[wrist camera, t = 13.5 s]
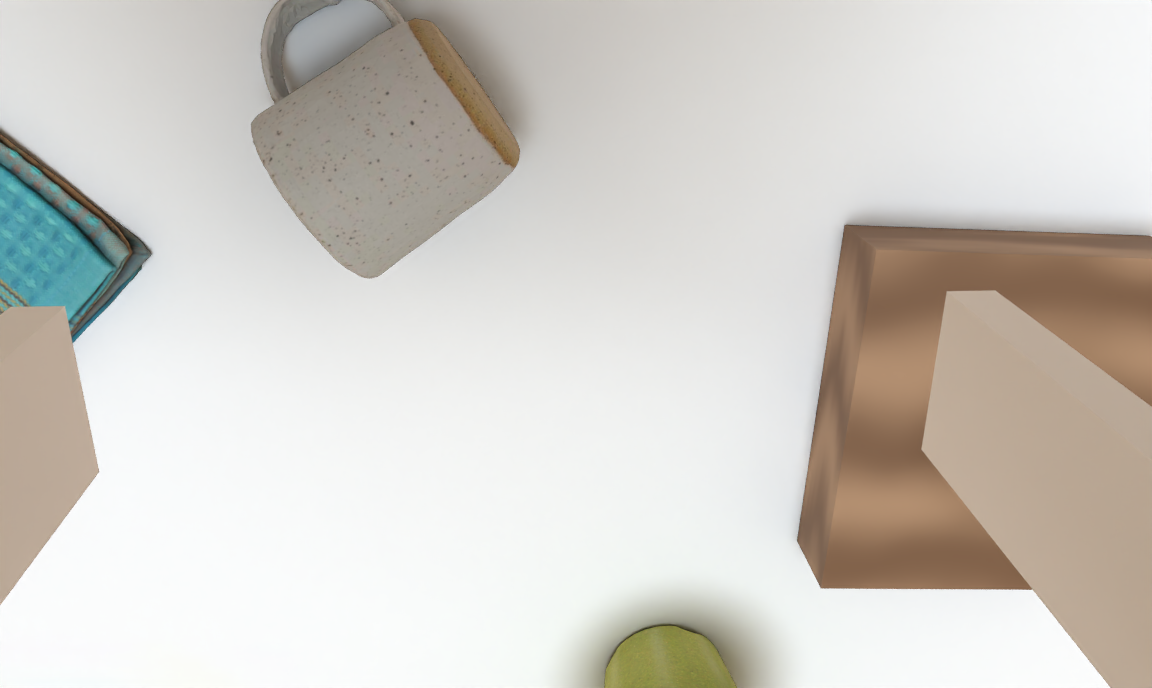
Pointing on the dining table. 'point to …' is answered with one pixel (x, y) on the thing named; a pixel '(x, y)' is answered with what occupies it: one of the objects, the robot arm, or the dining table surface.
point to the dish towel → (58, 244)
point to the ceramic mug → (379, 139)
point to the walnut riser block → (904, 378)
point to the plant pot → (667, 661)
